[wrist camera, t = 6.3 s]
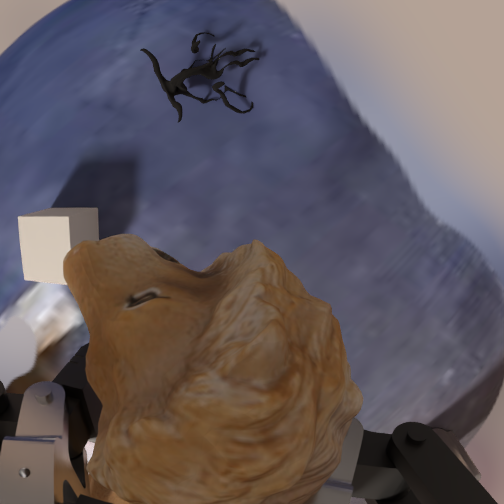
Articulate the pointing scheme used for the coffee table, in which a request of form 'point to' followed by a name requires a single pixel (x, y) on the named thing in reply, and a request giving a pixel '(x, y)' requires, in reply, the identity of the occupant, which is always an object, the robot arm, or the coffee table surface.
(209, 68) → the creature
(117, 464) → the lion figurine
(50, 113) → the coffee table surface
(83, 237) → the beige block
